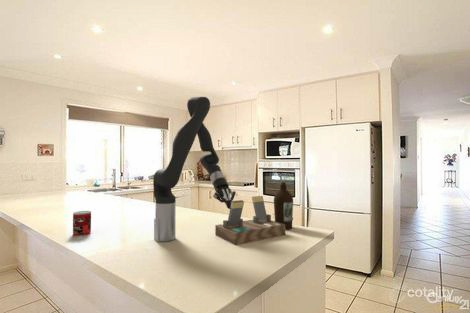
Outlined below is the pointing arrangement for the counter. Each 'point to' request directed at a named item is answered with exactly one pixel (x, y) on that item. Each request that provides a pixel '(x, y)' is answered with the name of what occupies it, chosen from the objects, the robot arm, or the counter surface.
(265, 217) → the far lever
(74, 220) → the canned food
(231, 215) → the near lever
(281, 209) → the olive oil
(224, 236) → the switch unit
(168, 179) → the robot arm
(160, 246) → the counter surface
